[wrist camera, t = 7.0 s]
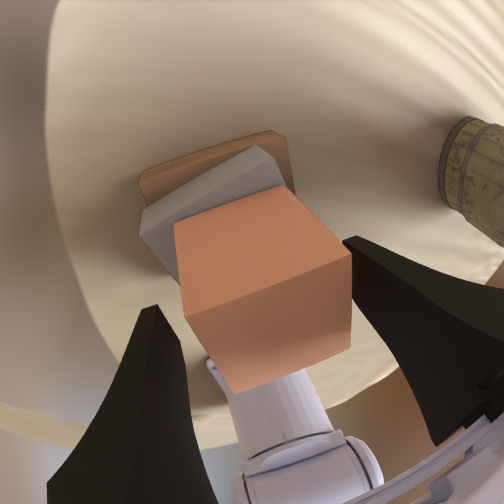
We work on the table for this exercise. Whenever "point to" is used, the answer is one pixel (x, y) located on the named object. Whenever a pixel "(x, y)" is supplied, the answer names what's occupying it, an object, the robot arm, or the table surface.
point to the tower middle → (206, 199)
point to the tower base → (211, 164)
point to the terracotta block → (264, 287)
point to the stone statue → (475, 175)
